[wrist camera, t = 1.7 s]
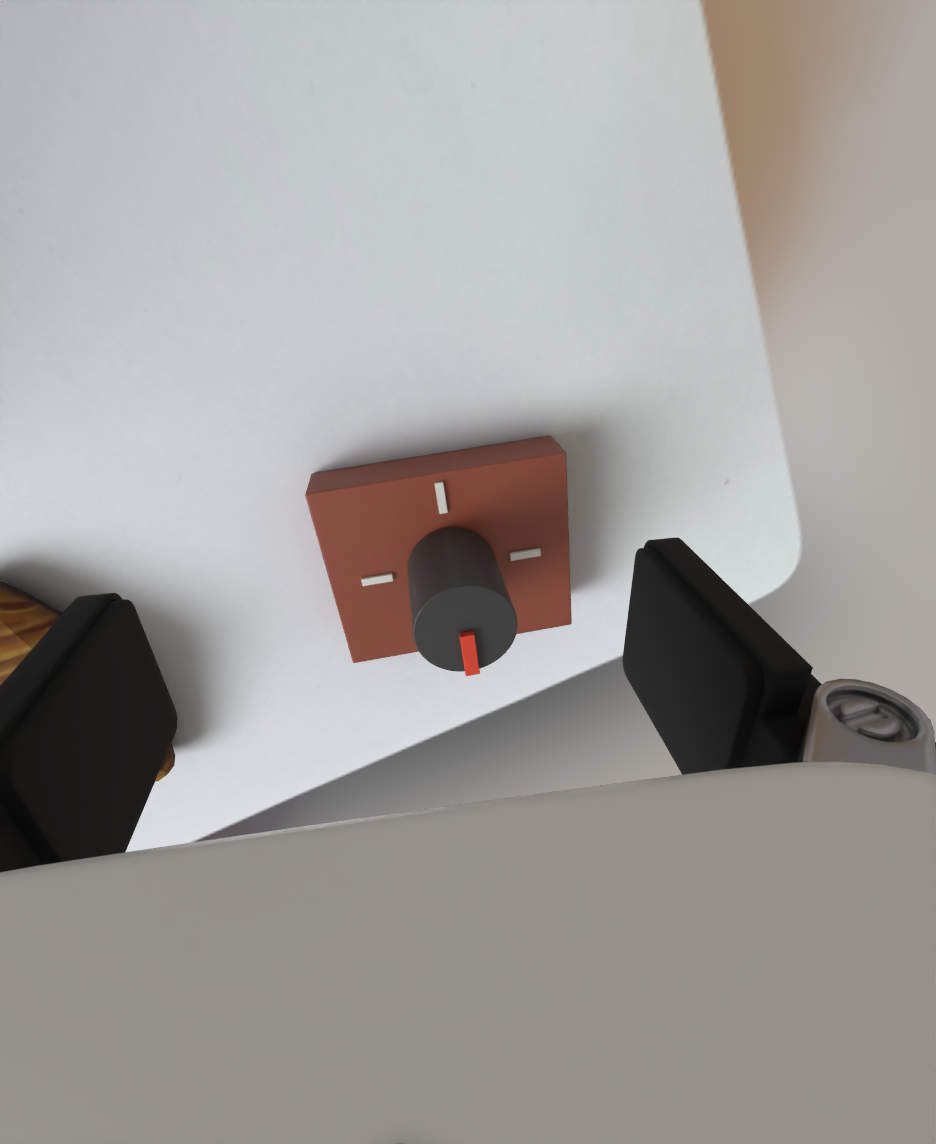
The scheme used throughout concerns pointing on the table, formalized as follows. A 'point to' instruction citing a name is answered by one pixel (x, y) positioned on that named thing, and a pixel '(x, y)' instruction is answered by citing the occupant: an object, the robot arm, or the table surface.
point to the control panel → (435, 501)
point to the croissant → (33, 638)
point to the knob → (459, 601)
